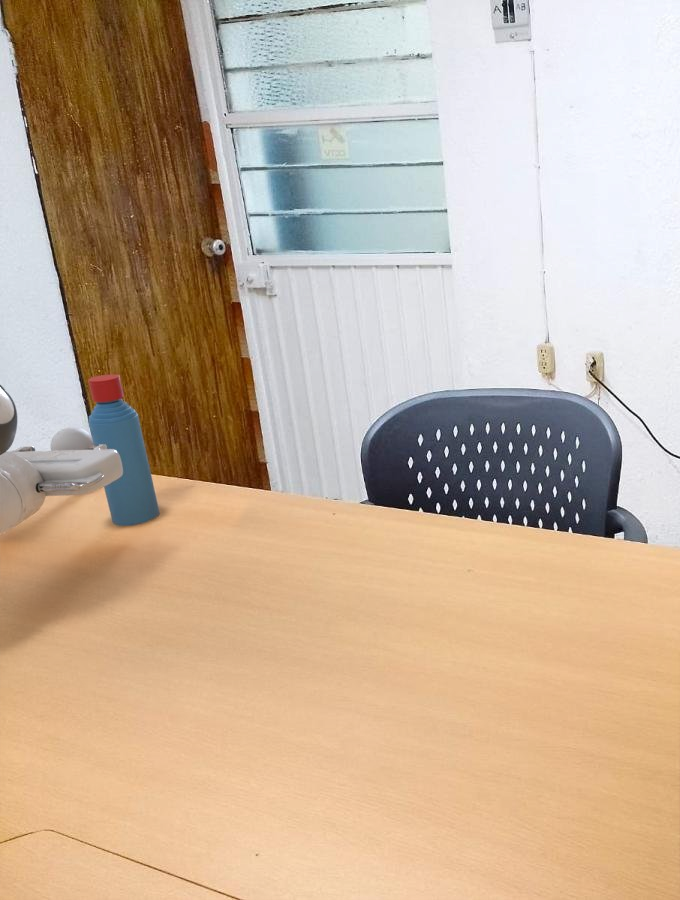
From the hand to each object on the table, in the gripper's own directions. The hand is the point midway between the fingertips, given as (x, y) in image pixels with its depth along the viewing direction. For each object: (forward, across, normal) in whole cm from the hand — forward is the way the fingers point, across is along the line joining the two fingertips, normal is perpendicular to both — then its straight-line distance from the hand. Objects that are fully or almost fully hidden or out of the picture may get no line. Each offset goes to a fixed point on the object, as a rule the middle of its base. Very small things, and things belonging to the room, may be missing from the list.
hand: (66, 450), depth 110 cm
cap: (+12, 0, -4) cm, 12 cm away
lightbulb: (+24, +14, +15) cm, 32 cm away
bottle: (+12, 0, +15) cm, 19 cm away
